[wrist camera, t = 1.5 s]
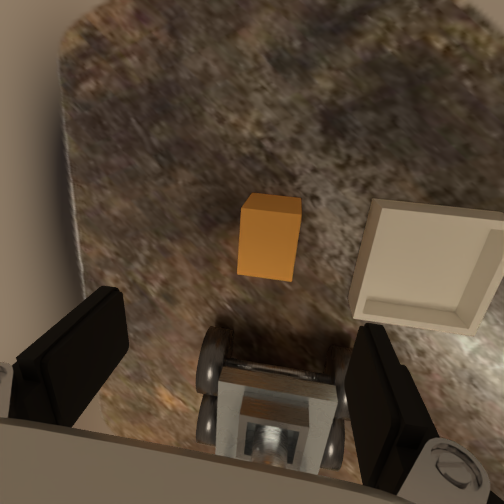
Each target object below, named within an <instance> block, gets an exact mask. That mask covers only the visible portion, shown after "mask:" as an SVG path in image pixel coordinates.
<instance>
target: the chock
mask: <svg viewBox="0 0 504 504" xmlns="http://www.w3.org/2000/svg"><path fill="white" fill-rule="evenodd" d="M301 217H302V207H301V198H297V197H287V196H278V195H269V194H260V193H251V195H250V196H249V198H248V199H247V201H246V202H245V203H244V205H243V206H242V208H241V220H240V236H239V251H238V267H237V274H239V275H246V276H253V277H261V278H268V279H275V280H282V281H289V282H292V276H293V269H294V263H295V256H296V250H297V243H298V237H299V230H300V223H301Z"/></svg>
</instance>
